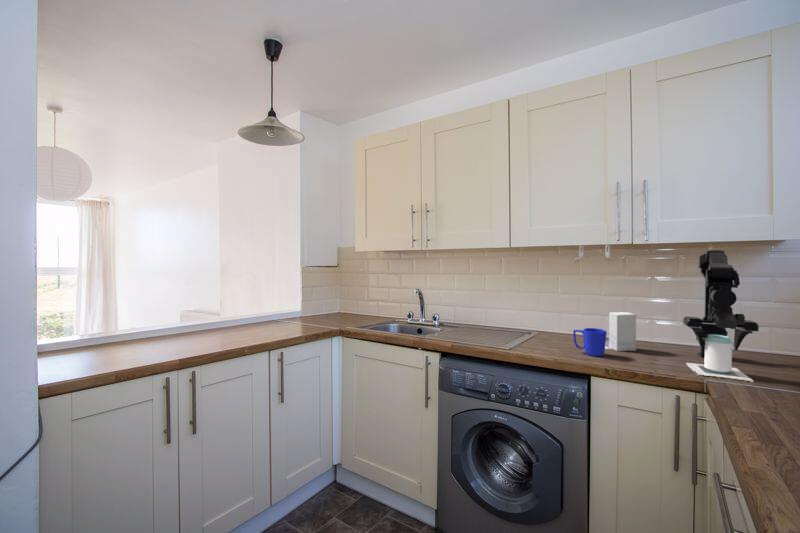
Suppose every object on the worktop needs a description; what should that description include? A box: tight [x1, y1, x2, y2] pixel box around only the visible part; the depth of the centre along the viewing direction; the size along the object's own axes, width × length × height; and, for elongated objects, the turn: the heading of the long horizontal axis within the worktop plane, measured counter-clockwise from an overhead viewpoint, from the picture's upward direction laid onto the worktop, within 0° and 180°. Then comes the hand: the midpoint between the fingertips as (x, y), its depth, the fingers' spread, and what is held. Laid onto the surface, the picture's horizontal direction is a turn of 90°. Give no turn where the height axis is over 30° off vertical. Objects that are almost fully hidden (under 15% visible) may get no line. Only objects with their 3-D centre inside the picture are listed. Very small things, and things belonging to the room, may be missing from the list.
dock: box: [685, 362, 754, 383], centre depth 125 cm, size 14×14×1 cm
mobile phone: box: [605, 339, 614, 350], centre depth 162 cm, size 8×1×15 cm
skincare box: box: [608, 311, 637, 352], centre depth 155 cm, size 8×7×16 cm
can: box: [703, 334, 733, 373], centre depth 125 cm, size 7×7×12 cm
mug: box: [572, 327, 608, 357], centre depth 148 cm, size 8×12×10 cm
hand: (718, 348), depth 125 cm, fingers open, 9 cm apart
